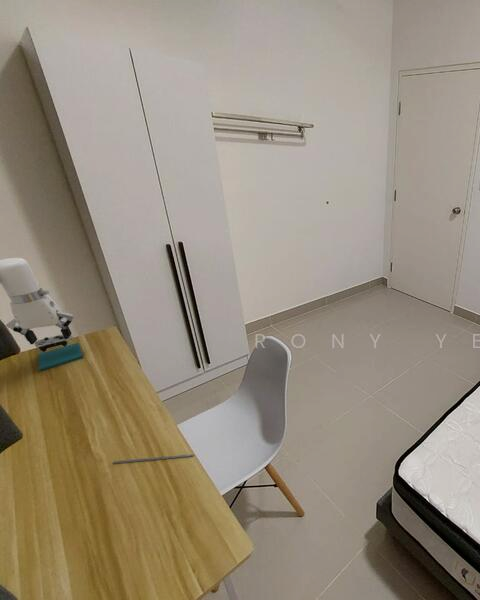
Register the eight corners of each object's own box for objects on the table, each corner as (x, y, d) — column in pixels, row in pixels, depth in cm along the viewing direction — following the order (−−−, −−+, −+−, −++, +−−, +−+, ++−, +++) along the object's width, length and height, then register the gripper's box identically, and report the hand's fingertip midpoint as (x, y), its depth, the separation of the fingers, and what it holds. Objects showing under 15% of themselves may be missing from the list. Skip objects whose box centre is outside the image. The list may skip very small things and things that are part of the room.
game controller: (73, 333, 120) (67, 329, 116) (77, 346, 120) (71, 343, 115) (36, 342, 115) (28, 338, 110) (40, 356, 114) (33, 353, 109)
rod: (193, 457, 86) (193, 455, 86) (113, 465, 83) (112, 463, 83) (194, 455, 87) (194, 453, 87) (115, 462, 84) (114, 460, 84)
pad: (40, 371, 111) (39, 369, 110) (38, 356, 117) (37, 354, 117) (83, 357, 118) (82, 355, 118) (79, 344, 125) (78, 342, 124)
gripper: (66, 287, 112) (87, 329, 120) (-3, 294, 106) (23, 338, 114) (57, 296, 106) (79, 340, 115) (-17, 305, 100) (12, 350, 108)
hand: (51, 339), depth 114 cm, fingers closed on game controller, 8 cm apart
